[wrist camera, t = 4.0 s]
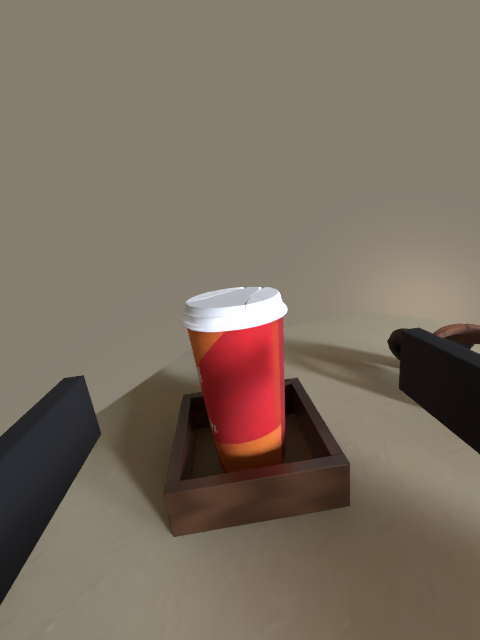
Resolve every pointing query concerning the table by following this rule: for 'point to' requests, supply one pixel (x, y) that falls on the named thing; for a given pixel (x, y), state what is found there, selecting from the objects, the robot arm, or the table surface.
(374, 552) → the table surface
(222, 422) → the paper cup
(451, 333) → the pottery mug
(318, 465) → the wooden tray
